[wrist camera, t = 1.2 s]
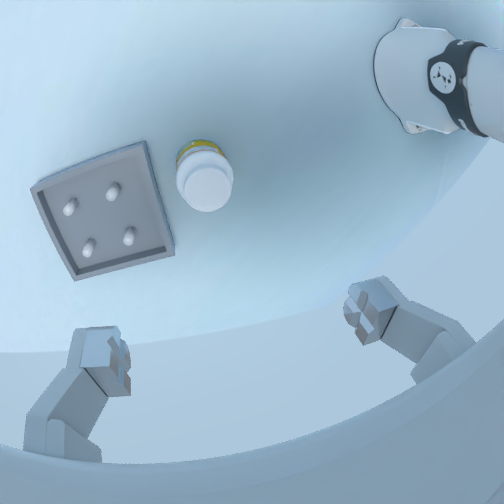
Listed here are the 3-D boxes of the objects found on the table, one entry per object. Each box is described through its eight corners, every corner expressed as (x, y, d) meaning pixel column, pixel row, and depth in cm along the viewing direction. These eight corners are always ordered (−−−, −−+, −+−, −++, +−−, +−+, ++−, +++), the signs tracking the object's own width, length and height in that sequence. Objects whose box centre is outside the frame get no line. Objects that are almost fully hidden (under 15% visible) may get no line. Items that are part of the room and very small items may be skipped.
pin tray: (145, 140, 26) (140, 147, 24) (174, 244, 35) (175, 259, 32) (38, 181, 24) (26, 192, 22) (78, 270, 33) (72, 286, 30)
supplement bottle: (220, 184, 32) (235, 221, 24) (174, 182, 30) (173, 219, 22) (226, 140, 29) (245, 161, 21) (178, 137, 27) (177, 157, 19)
